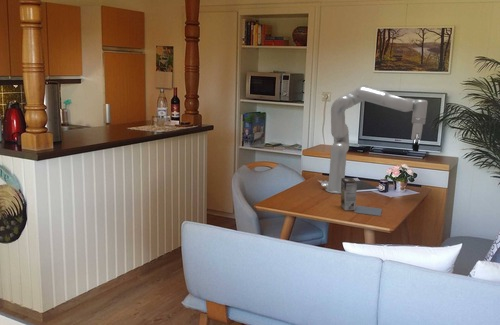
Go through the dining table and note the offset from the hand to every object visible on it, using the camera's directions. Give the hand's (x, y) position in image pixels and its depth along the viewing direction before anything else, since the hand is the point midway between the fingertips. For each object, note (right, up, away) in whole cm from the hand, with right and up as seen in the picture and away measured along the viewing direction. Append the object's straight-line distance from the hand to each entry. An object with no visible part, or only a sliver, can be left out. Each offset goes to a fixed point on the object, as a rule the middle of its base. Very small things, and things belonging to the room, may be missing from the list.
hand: (415, 149), depth 304 cm
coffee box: (-43, -33, -17) cm, 56 cm away
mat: (-32, -34, -20) cm, 51 cm away
